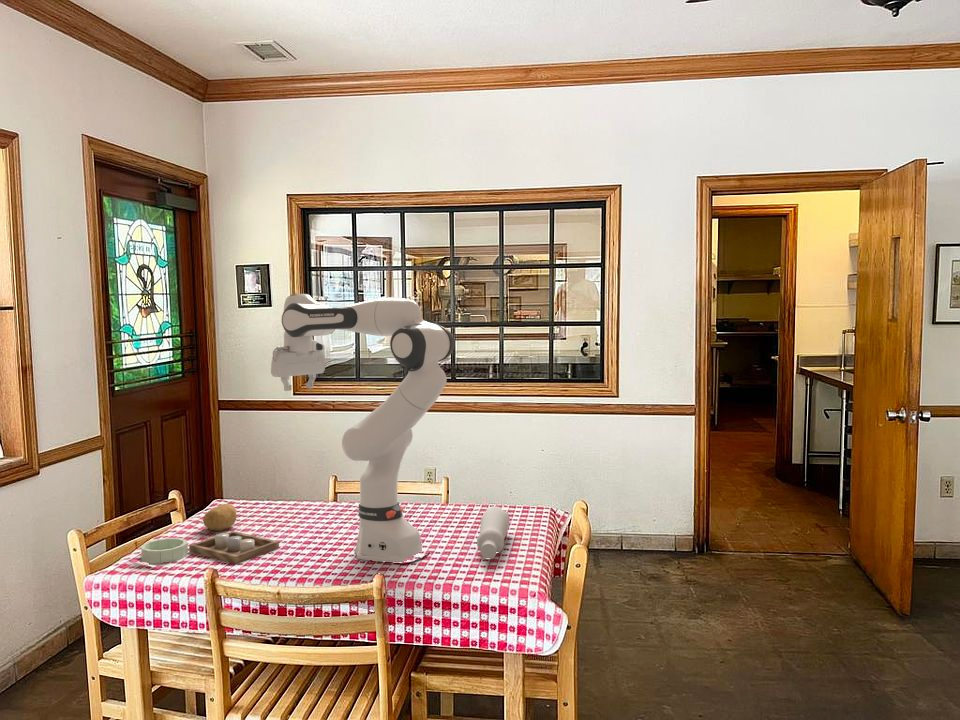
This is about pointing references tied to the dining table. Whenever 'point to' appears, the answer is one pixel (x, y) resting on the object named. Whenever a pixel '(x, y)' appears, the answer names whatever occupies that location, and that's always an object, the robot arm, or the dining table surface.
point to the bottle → (492, 531)
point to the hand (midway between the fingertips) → (298, 389)
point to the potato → (220, 517)
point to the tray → (209, 550)
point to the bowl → (164, 550)
